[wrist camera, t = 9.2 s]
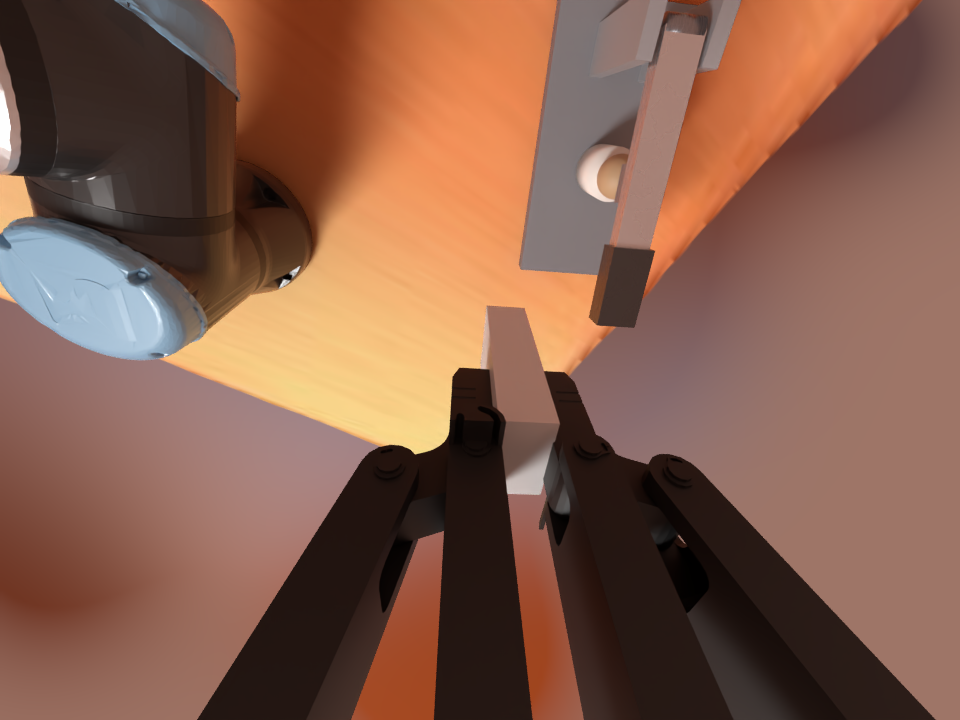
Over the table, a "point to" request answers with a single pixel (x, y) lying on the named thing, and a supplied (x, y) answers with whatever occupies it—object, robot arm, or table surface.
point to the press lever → (647, 170)
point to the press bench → (596, 121)
